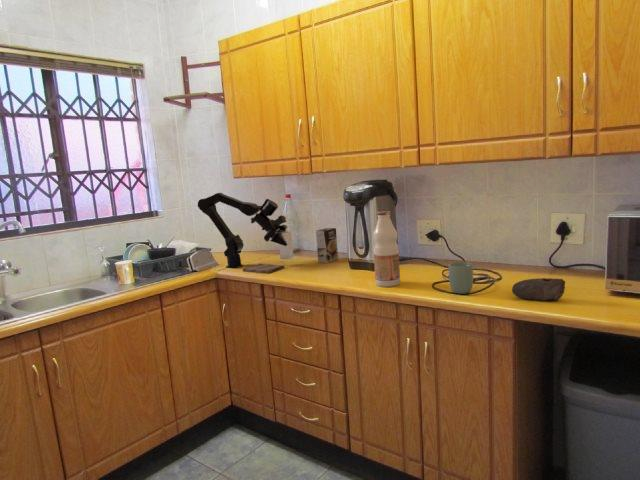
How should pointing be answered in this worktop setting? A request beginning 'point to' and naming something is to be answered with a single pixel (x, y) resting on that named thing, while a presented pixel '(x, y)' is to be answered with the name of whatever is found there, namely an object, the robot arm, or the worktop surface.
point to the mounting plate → (263, 268)
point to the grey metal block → (201, 261)
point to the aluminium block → (286, 251)
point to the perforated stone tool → (539, 289)
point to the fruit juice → (386, 252)
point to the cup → (461, 277)
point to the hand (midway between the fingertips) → (288, 244)
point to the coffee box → (327, 245)
